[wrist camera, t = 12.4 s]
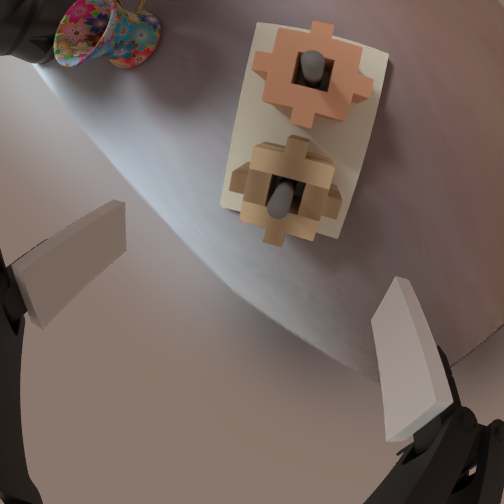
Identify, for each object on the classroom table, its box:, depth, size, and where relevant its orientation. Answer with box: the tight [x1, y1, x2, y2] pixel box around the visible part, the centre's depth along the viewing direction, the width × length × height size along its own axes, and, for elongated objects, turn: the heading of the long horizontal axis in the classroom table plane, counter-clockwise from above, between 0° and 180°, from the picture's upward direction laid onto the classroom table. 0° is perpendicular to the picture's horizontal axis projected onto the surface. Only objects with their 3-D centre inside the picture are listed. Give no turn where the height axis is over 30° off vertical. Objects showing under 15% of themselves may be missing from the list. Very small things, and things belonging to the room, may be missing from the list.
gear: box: [229, 135, 342, 247], centre depth 26 cm, size 10×10×6 cm
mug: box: [54, 0, 161, 69], centre depth 19 cm, size 12×9×11 cm
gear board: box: [220, 20, 389, 239], centre depth 21 cm, size 14×22×11 cm, turn 169°
